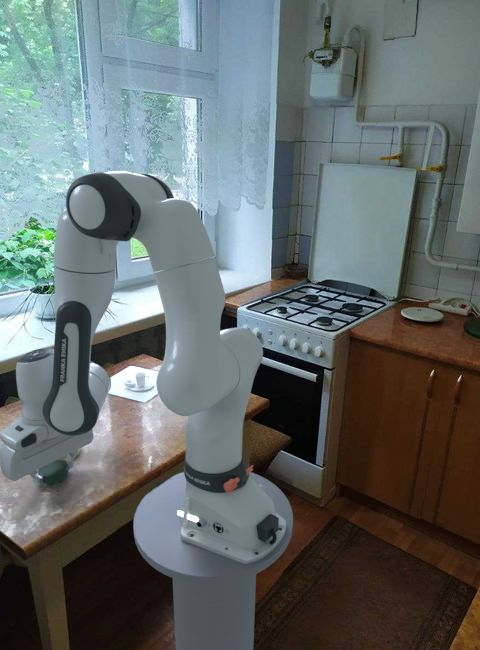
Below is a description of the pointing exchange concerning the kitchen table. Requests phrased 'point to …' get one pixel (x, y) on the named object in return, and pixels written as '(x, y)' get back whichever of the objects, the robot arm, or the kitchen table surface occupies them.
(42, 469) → the jar lid
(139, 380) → the teacup and saucer
